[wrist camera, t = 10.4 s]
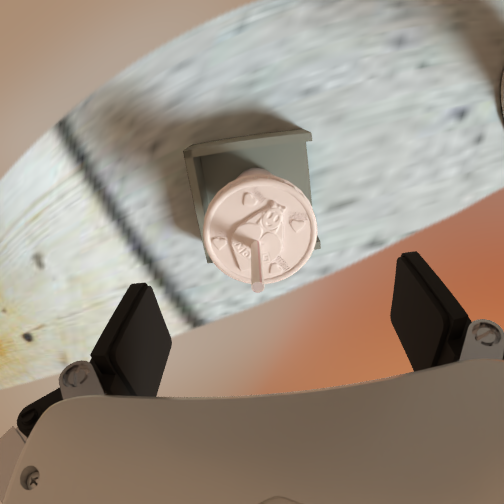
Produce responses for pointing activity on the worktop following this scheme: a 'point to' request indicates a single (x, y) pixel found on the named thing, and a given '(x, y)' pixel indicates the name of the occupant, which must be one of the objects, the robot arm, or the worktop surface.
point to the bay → (246, 165)
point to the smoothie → (259, 228)
